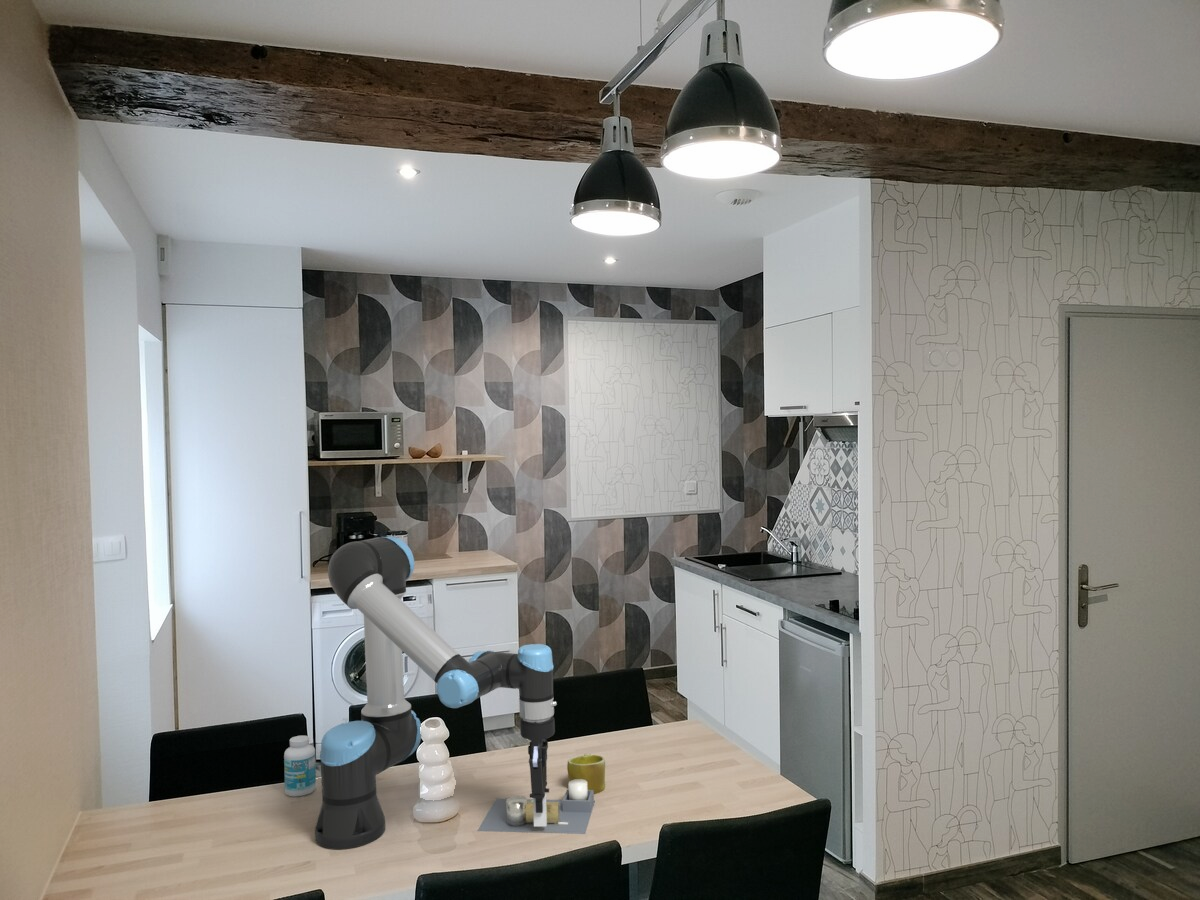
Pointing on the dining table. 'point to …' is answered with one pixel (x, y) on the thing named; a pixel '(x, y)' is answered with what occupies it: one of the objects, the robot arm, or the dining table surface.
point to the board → (570, 822)
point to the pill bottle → (299, 767)
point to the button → (578, 789)
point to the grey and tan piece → (528, 811)
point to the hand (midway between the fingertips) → (540, 824)
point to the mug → (588, 771)
